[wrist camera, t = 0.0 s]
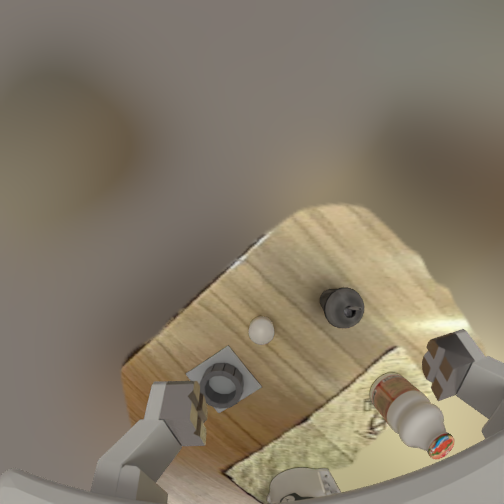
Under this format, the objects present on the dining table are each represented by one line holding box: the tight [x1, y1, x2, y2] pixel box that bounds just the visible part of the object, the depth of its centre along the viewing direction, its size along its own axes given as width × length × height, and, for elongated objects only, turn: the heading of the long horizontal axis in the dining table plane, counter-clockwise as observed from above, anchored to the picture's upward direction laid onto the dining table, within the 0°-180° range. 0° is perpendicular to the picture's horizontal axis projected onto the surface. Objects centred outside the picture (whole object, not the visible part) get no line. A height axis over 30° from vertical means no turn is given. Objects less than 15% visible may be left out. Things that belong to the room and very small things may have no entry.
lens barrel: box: [186, 345, 262, 413], centre depth 61 cm, size 12×12×5 cm
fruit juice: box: [370, 373, 454, 459], centre depth 48 cm, size 9×9×28 cm
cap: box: [249, 316, 274, 345], centre depth 61 cm, size 5×5×4 cm
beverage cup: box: [320, 288, 364, 328], centre depth 53 cm, size 7×7×20 cm
